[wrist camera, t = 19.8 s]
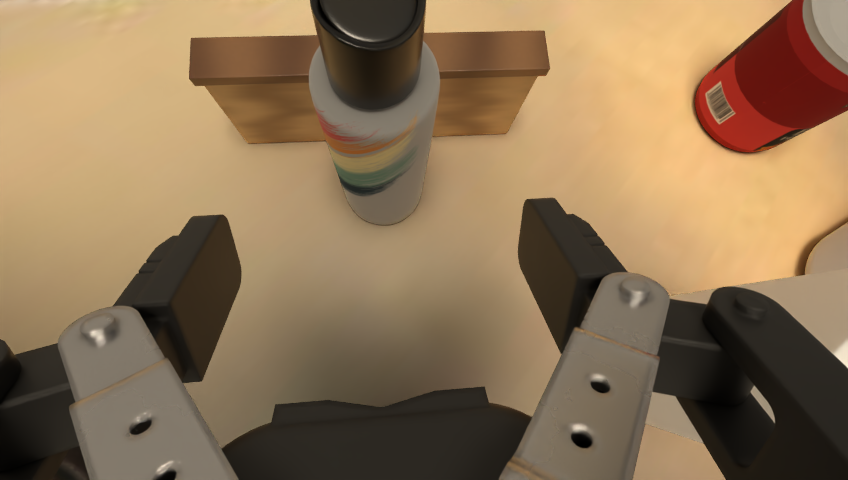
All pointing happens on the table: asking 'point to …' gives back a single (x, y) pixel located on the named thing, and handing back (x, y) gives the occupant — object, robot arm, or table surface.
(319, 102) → the lotion bottle
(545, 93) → the table surface
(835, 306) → the milk
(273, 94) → the wall panel
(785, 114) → the canned food
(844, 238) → the plastic bottle
